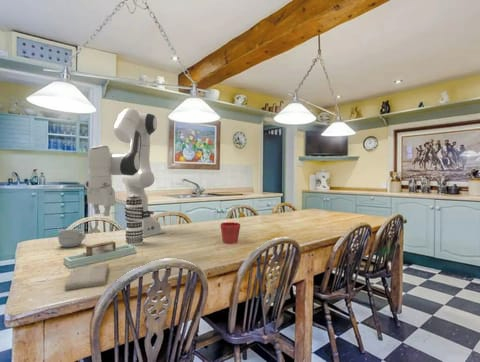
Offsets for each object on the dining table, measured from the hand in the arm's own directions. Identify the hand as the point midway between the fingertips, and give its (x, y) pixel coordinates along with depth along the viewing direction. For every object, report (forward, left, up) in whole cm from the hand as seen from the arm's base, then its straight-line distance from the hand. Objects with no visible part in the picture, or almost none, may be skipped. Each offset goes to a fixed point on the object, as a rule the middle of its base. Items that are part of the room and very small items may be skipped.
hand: (101, 215), depth 119 cm
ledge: (0, 0, -19) cm, 19 cm away
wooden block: (0, 0, -18) cm, 18 cm away
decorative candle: (-21, -13, -19) cm, 31 cm away
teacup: (+2, -30, -19) cm, 36 cm away
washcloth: (+13, +21, -19) cm, 31 cm away
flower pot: (-57, +22, -19) cm, 64 cm away
